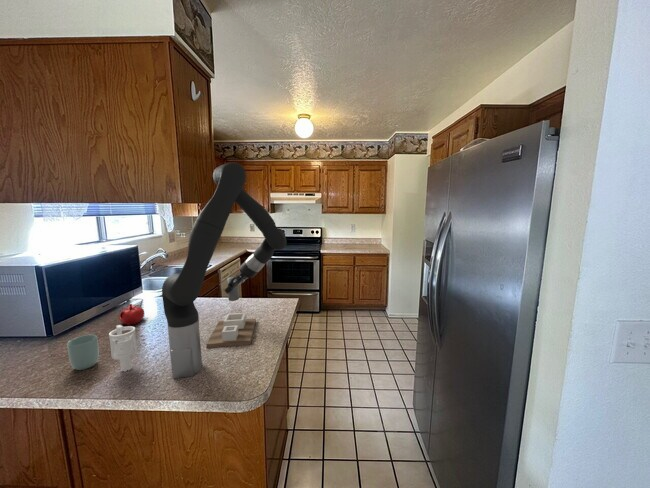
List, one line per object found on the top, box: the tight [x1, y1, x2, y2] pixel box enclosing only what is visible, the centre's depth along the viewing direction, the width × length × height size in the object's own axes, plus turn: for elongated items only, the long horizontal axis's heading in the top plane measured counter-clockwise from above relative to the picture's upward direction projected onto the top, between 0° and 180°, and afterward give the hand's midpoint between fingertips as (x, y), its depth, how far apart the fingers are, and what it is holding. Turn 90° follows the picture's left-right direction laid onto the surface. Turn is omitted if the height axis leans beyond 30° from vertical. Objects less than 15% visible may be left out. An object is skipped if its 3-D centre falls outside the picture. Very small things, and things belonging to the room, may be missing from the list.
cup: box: [66, 333, 100, 371], centre depth 93 cm, size 8×8×10 cm
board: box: [205, 318, 257, 349], centre depth 117 cm, size 22×17×2 cm
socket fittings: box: [222, 312, 247, 341], centre depth 117 cm, size 19×8×4 cm, turn 9°
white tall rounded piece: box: [108, 324, 138, 372], centre depth 91 cm, size 7×7×15 cm
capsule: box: [226, 276, 240, 302], centre depth 120 cm, size 4×4×10 cm
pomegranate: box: [118, 303, 145, 326], centre depth 129 cm, size 10×10×9 cm
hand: (229, 290), depth 120 cm, fingers closed on capsule, 4 cm apart
